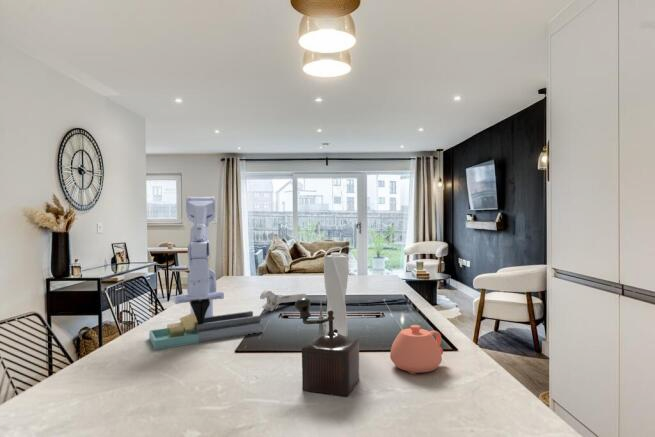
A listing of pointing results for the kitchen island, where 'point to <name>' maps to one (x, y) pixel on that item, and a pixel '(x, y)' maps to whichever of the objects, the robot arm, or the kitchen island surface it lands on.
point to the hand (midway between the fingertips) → (200, 324)
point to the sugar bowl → (416, 350)
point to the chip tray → (170, 339)
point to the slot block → (228, 326)
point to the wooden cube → (189, 322)
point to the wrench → (278, 299)
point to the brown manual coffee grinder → (328, 358)
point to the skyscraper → (335, 291)
